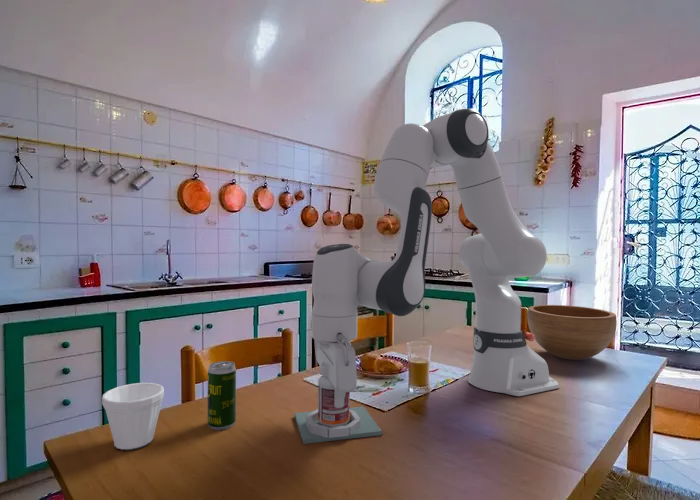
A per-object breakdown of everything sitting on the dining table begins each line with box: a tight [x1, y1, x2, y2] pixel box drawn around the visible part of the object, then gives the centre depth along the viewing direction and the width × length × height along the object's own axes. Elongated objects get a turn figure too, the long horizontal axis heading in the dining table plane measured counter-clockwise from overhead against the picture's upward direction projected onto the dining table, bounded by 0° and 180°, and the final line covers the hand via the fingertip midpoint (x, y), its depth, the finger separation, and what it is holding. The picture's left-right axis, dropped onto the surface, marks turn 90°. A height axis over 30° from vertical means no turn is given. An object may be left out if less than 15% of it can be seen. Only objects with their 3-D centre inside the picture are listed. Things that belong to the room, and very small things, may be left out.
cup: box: [101, 382, 165, 451], centre depth 77 cm, size 10×10×9 cm
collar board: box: [294, 406, 383, 445], centre depth 85 cm, size 15×12×2 cm
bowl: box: [527, 304, 617, 361], centre depth 136 cm, size 25×25×15 cm
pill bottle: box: [317, 362, 351, 427], centre depth 83 cm, size 6×6×11 cm
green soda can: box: [207, 360, 237, 431], centre depth 84 cm, size 5×5×12 cm
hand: (334, 398), depth 83 cm, fingers open, 6 cm apart
